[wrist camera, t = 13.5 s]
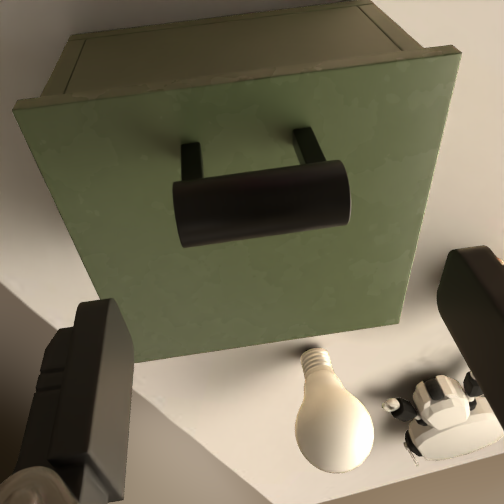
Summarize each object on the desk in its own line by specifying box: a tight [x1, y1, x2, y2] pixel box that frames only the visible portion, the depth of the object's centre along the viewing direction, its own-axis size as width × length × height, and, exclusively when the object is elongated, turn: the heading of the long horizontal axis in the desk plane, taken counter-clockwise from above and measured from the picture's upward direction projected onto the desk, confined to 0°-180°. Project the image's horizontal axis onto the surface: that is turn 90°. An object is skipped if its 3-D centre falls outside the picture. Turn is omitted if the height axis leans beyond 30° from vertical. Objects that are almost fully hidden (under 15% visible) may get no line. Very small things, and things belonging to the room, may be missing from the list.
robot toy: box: [382, 371, 504, 466], centre depth 51 cm, size 12×4×15 cm
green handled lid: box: [12, 45, 462, 363], centre depth 18 cm, size 15×15×5 cm
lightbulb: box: [295, 348, 374, 473], centre depth 39 cm, size 6×6×11 cm
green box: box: [40, 0, 423, 97], centre depth 24 cm, size 14×15×9 cm
